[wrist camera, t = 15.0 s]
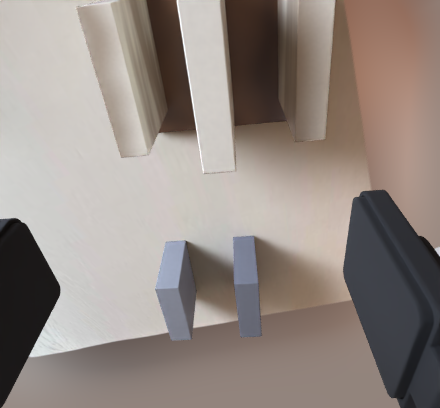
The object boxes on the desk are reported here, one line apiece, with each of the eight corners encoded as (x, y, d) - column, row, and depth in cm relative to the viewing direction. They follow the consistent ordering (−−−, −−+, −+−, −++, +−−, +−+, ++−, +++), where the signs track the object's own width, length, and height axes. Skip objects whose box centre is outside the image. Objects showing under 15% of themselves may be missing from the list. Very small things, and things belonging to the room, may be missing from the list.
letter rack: (303, -62, 30) (343, -79, 19) (298, 114, 39) (324, 167, 28) (115, -37, 31) (59, -40, 21) (153, 128, 40) (127, 183, 30)
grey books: (253, 235, 49) (258, 282, 42) (257, 287, 55) (261, 336, 48) (165, 241, 50) (154, 289, 43) (178, 291, 56) (171, 340, 49)
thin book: (223, -18, 30) (220, -9, 18) (233, 103, 37) (236, 171, 24) (196, -14, 31) (175, -3, 18) (211, 105, 37) (203, 174, 24)
